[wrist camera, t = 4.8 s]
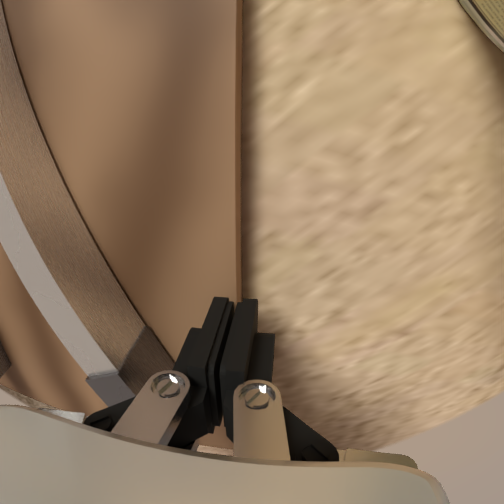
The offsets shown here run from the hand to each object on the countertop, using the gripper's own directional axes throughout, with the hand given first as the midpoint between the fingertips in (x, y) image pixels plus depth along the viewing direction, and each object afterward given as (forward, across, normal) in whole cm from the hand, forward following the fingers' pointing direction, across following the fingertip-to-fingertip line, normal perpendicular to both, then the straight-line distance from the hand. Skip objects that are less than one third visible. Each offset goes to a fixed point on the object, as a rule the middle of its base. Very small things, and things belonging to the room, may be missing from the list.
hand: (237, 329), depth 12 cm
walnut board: (+2, +11, -7) cm, 13 cm away
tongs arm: (0, +10, -7) cm, 12 cm away
